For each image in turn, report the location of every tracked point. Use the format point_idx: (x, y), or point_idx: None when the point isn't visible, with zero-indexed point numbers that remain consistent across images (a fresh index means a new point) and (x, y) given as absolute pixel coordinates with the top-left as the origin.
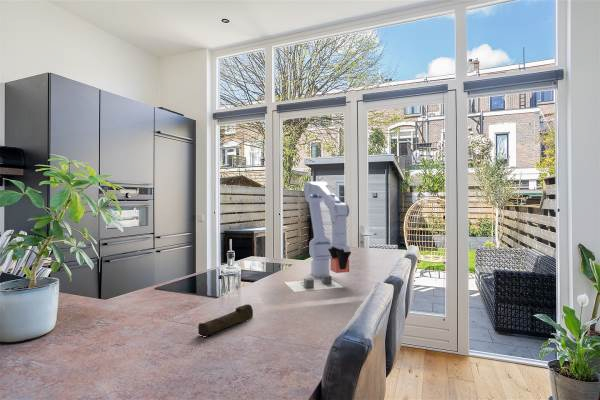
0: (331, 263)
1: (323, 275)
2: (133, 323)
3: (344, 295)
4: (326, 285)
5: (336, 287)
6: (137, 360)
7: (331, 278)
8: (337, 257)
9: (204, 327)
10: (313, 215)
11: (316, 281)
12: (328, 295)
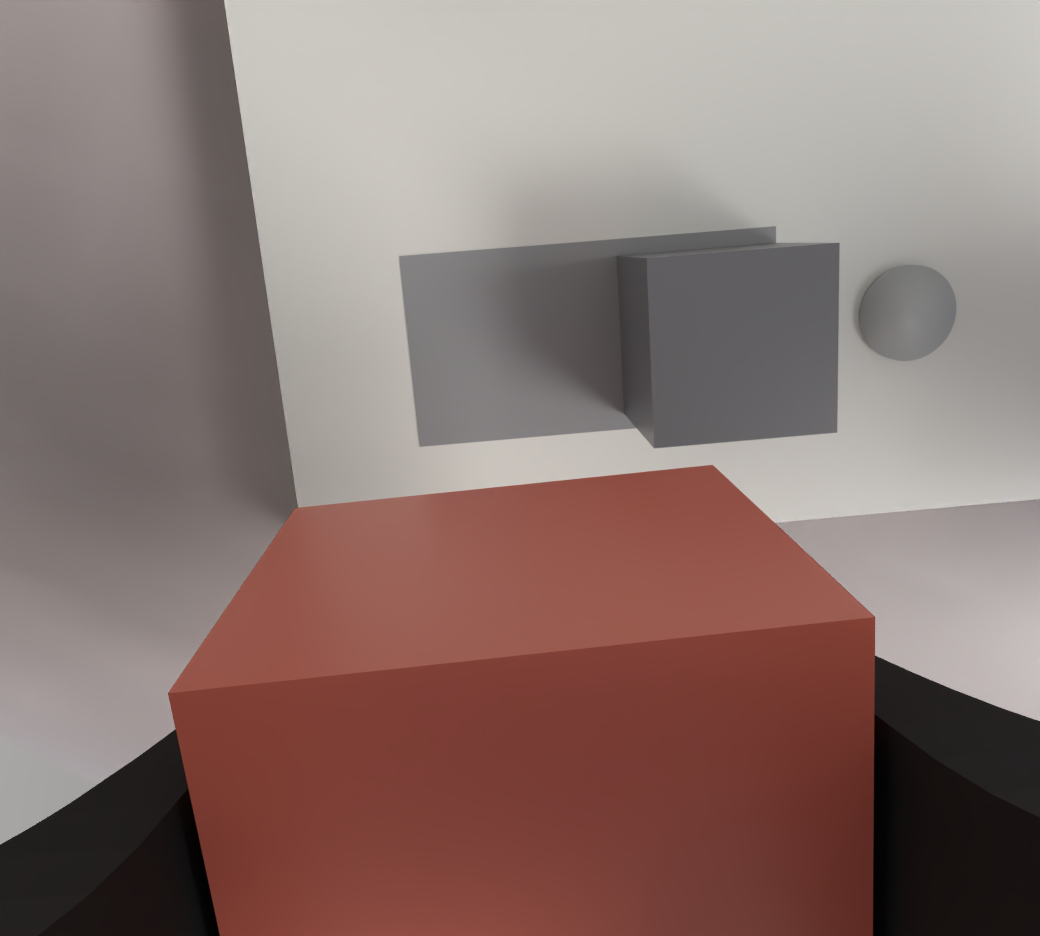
0: (681, 542)
1: (800, 274)
2: None
3: (48, 459)
4: (509, 263)
5: (314, 418)
6: None
7: (645, 434)
8: (824, 928)
9: None
10: None
11: (908, 148)
12: (87, 170)
